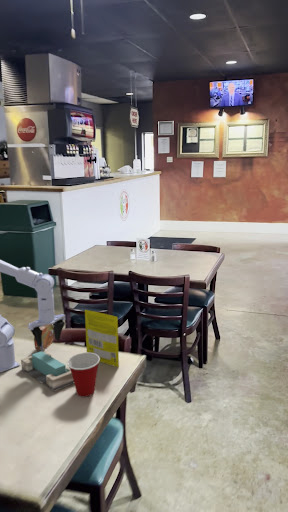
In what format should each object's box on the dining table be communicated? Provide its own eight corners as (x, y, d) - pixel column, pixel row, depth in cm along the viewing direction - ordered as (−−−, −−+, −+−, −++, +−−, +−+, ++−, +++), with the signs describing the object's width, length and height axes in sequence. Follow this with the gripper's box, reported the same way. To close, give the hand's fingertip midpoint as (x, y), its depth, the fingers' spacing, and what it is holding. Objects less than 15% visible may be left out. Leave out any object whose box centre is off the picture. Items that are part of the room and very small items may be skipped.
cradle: (21, 369, 163) (21, 359, 162) (45, 360, 169) (44, 351, 169) (53, 391, 147) (53, 380, 146) (78, 380, 154) (77, 370, 153)
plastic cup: (61, 393, 146) (59, 359, 143) (86, 381, 154) (85, 349, 151) (82, 405, 139) (81, 370, 136) (107, 391, 146) (106, 358, 144)
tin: (40, 354, 175) (39, 334, 173) (33, 353, 176) (32, 334, 174) (55, 339, 190) (54, 321, 188) (48, 339, 190) (47, 320, 188)
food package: (119, 366, 164) (118, 316, 159) (117, 368, 163) (116, 317, 158) (87, 357, 172) (85, 309, 167) (86, 358, 171) (83, 310, 167)
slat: (32, 366, 162) (31, 354, 161) (42, 363, 165) (41, 351, 164) (56, 382, 151) (55, 368, 150) (66, 378, 154) (65, 365, 153)
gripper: (34, 315, 152) (36, 351, 155) (69, 305, 162) (70, 340, 165) (24, 310, 157) (26, 345, 160) (58, 301, 167) (60, 334, 170)
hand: (48, 342), depth 163 cm, fingers open, 7 cm apart
